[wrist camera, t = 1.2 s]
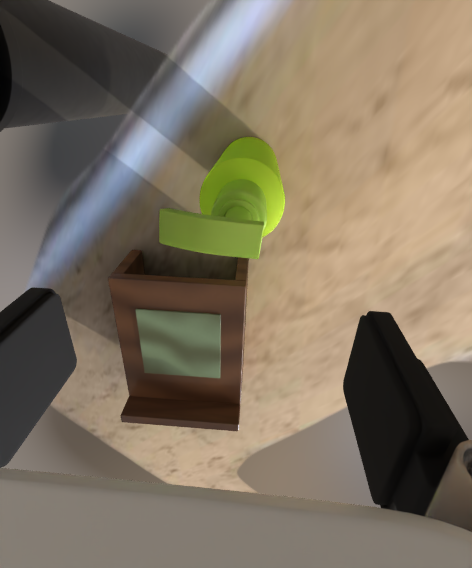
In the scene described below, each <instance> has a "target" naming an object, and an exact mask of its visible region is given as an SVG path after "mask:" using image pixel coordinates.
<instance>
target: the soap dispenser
mask: <svg viewBox="0 0 472 568" xmlns="http://www.w3.org/2000/svg"><path fill="white" fill-rule="evenodd" d="M284 205H285V195H284V190H283V186H282V181H281V177H280V173H279V168H278V164H277V160H276V156H275V154H274V152H273V150H272V149H271V147H270V146H269V145H268V144H267V143H265V142H264V141H262V140H260V139H258V138H254V137H243V138H240V139H237V140H235V141H234V142H232V143H231V144H230V145H229V146H228V147H227V148H226V150H225V151H224V152H223V154H222V155H221V157H220V158H219V159H218V161H217V162H216V164H215V165H214V166H213V168H212V169H211V171H210V172H209V173H208V175H207V176H206V178H205V180H204V182H203V184H202V187H201V191H200V208H201V212H202V214H198V213H191V212H186V211H181V210H176V209H171V208H166V209H160V212H159V241H160V243H162V244H165V245H169V246H172V247H176V248H181V249H185V250H190V251H195V252H201V253H207V254H214V255H223V256H232V257H242V258H252V259H259V253H260V247H261V241H262V237H264V236H266V235H267V234H269V233H270V232H271V231H272V230H273V229H274V228H275V227H276V225H277V224H278V222H279V221H280V219H281V217H282V214H283V211H284Z"/></svg>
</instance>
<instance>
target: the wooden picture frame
mask: <svg viewBox="0 0 472 568" xmlns="http://www.w3.org/2000/svg"><path fill="white" fill-rule="evenodd" d="M248 261H249V258H242V257H238V263H237V270H236V276H235V280H223V279H206V278H189V277H171V276H154V275H145V273H144V265H143V257H142V250H132V251H131V252H130V253H129V254H128V255H127V256H126V258H125V259H124V260H123V261H122V262H121V263H120V265H119V266H118V267H117V268H116V269H115V270H114V272H113V273H112V274H111V275H110V276H109V278H108V282H109V287H110V292H111V298H112V303H113V309H114V314H115V320H116V325H117V330H118V336H119V341H120V347H121V352H122V358H123V363H124V368H125V374H126V379H127V385H128V390H129V398H128V400H127V402H126V405H125V407H124V409H123V411H122V414H121V420H122V422H128V423H141V424H153V425H166V426H178V427H191V428H203V429H216V430H228V431H238V430H239V417H240V403H241V390H242V376H243V359H244V339H245V320H246V300H247V281H248Z"/></svg>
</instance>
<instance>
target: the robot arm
mask: <svg viewBox="0 0 472 568" xmlns="http://www.w3.org/2000/svg"><path fill="white" fill-rule="evenodd" d="M76 363H77V359H76V355H75V351H74V347H73V344H72V340H71V336H70V332H69V328H68V325H67V321H66V317H65V313H64V310H63V306H62V302H61V298H60V296H59V295H58V294H56V293H55V292H54V290H52V289H47V288H30V289H29V290H27V291H26V292H25V293H24V294H22V295H21V296H20V297H19V298H18V299H16V300H15V301H14V302H12V303H11V304H10V305H9V306H7V307H6V308H5V309H4V310H2V311H1V312H0V568H472V440H469V439H468V438H467V436H466V434H465V433H464V431H463V429H462V428H461V426H460V424H459V423H458V421H457V419H456V418H455V416H454V414H453V413H452V411H451V409H450V407H449V406H448V404H447V402H446V401H445V399H444V398H443V396H442V394H441V392H440V391H439V389H438V387H437V386H436V384H435V382H434V381H433V379H432V377H431V376H430V374H429V372H428V371H427V369H426V367H425V366H424V364H423V363H422V362H421V360H419V359H417V358H416V356H415V354H414V353H413V351H412V349H411V347H410V346H409V344H408V342H407V341H406V339H405V337H404V335H403V334H402V332H401V330H400V329H399V327H398V325H397V323H396V322H395V320H394V318H393V317H392V315H391V314H390V313H388V312H375V311H369V312H368V313H367V315H366V316H364V315H362V316H361V318H360V321H359V324H358V328H357V332H356V336H355V340H354V343H353V347H352V351H351V355H350V358H349V362H348V366H347V370H346V374H345V377H344V382H343V390H344V395H345V399H346V402H347V406H348V410H349V414H350V417H351V421H352V425H353V429H354V432H355V436H356V440H357V444H358V447H359V451H360V455H361V459H362V462H363V466H364V470H365V473H366V477H367V481H368V485H369V489H370V492H371V496H372V499H373V501H374V503H375V504H378V505H380V506H381V508H377V507H369V506H362V505H354V504H345V503H338V502H330V501H322V500H312V499H305V498H296V497H287V496H277V495H267V494H258V493H249V492H239V491H230V490H220V489H211V488H201V487H191V486H182V485H172V484H162V483H152V482H141V481H132V480H121V479H112V478H101V477H91V476H81V475H71V474H59V473H50V472H38V471H28V470H18V469H7V468H1V467H3V466H5V465H7V464H8V463H9V461H10V460H11V459H12V457H13V456H14V454H15V453H16V452H17V450H18V449H19V448H20V446H21V445H22V443H23V442H24V440H25V439H26V438H27V436H28V435H29V433H30V432H31V431H32V429H33V428H34V426H35V425H36V423H37V422H38V421H39V419H40V418H41V416H42V415H43V413H44V412H45V411H46V409H47V408H48V406H49V405H50V404H51V402H52V401H53V399H54V398H55V397H56V395H57V394H58V392H59V391H60V389H61V388H62V387H63V385H64V384H65V382H66V381H67V380H68V378H69V377H70V375H71V374H72V372H73V371H74V369H75V367H76Z"/></svg>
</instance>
